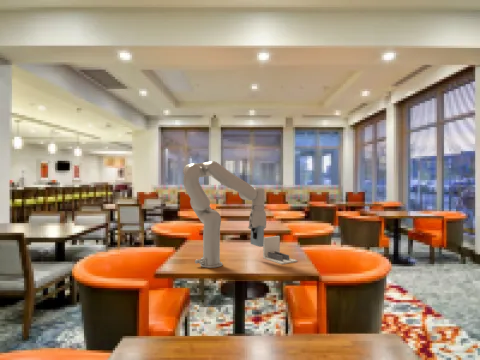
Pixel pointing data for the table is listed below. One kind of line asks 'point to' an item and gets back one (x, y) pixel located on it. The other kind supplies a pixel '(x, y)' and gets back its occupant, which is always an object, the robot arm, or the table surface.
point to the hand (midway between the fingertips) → (257, 238)
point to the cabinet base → (275, 251)
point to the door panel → (258, 236)
